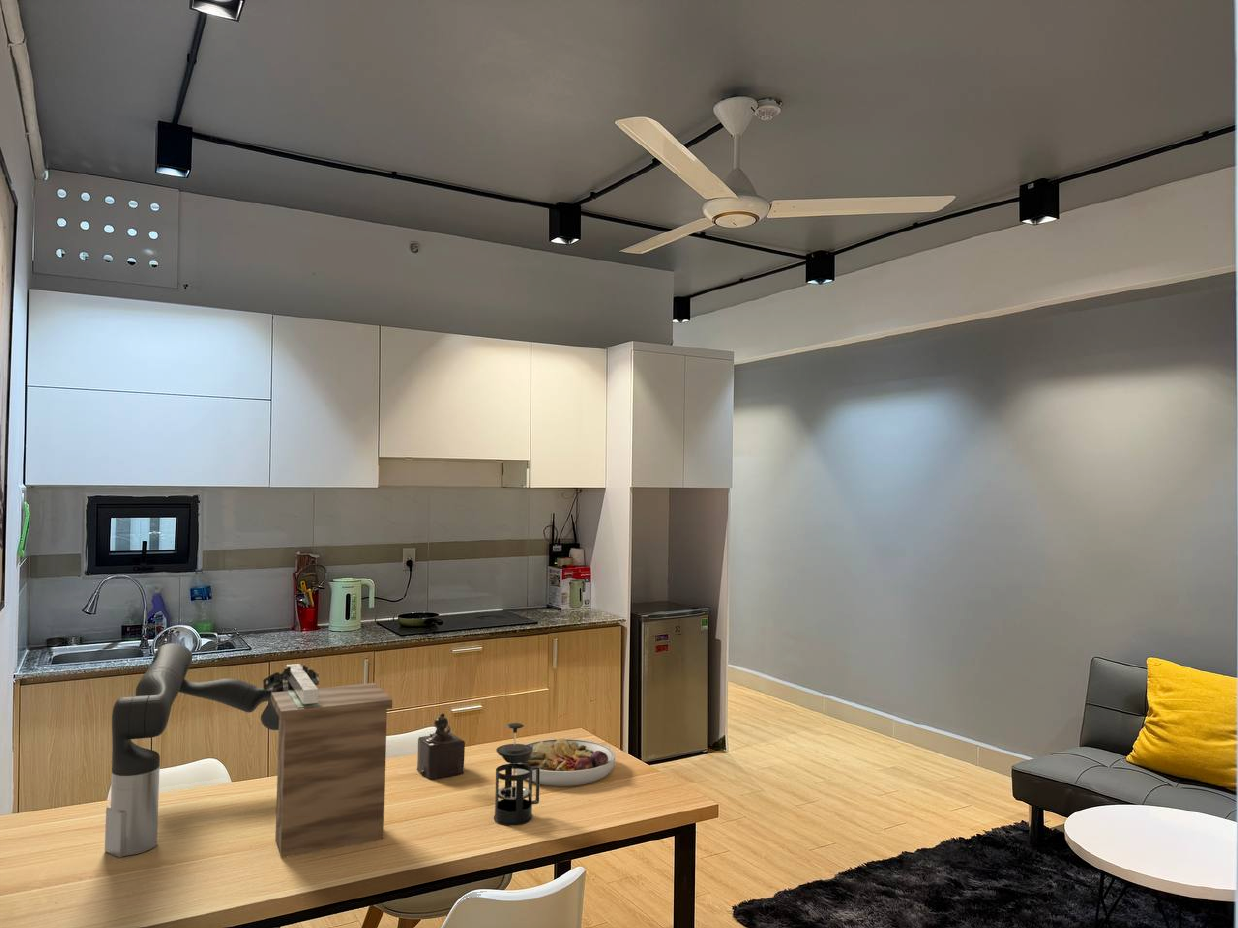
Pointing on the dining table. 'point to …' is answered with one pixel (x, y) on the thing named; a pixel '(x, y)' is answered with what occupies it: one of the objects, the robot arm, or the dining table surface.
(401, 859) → the dining table surface
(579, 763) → the bowl
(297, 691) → the white rectangular bar
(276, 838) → the upright wood-grain block
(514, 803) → the french press
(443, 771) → the manual coffee grinder
